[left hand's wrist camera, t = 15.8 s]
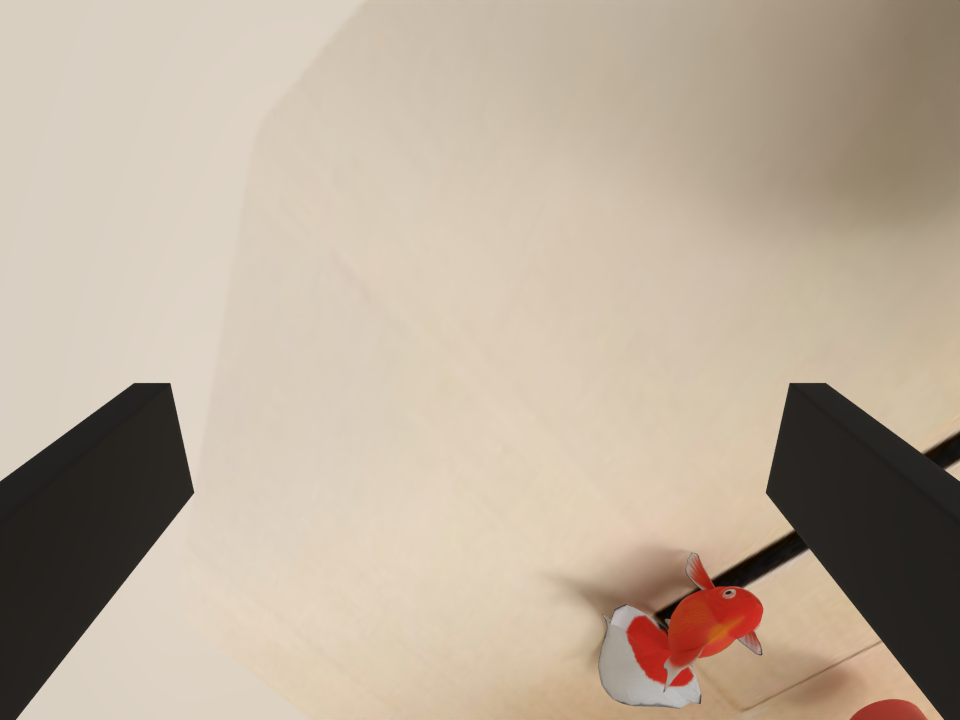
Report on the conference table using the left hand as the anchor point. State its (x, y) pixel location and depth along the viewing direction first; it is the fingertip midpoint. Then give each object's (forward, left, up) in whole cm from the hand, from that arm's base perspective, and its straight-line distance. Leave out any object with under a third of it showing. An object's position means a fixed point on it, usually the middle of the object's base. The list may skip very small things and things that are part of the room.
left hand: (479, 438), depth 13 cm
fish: (+32, +13, -27) cm, 44 cm away
